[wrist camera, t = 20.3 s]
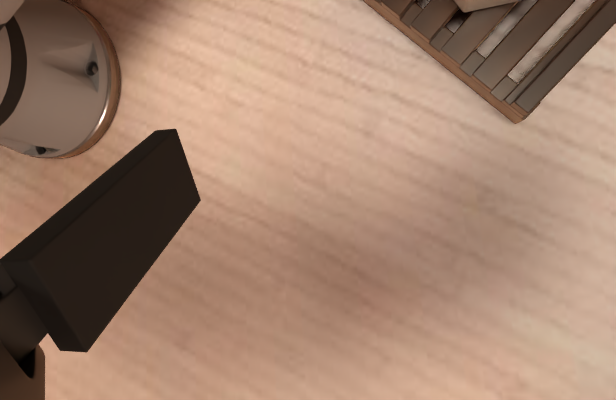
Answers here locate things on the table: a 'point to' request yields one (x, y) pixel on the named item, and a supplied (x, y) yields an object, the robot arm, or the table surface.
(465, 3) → the jar
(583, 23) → the drying rack
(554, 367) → the table surface
